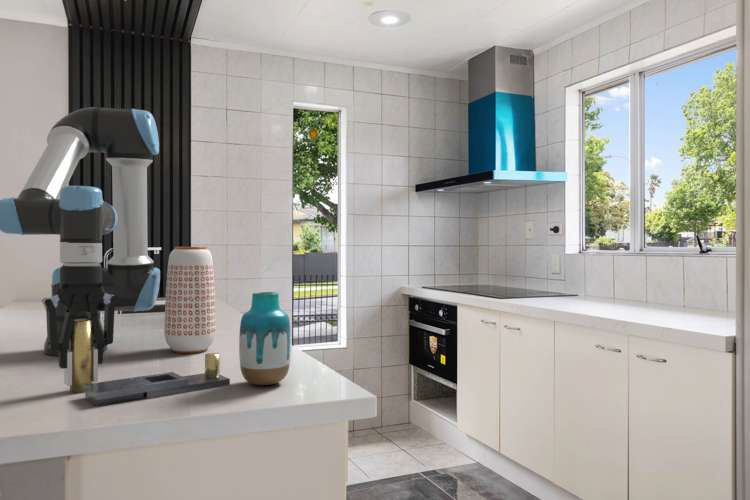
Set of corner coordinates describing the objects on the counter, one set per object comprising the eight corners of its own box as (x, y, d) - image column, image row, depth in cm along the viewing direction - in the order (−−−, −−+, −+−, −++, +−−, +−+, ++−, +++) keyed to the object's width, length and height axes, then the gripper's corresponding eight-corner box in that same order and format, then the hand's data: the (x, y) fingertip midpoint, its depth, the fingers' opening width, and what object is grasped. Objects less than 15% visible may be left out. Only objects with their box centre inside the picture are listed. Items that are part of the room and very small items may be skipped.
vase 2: (266, 393, 114) (267, 296, 114) (228, 385, 120) (228, 293, 120) (300, 382, 123) (301, 292, 123) (263, 375, 129) (264, 289, 129)
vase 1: (161, 356, 150) (161, 247, 149) (167, 346, 163) (167, 246, 162) (214, 354, 153) (215, 247, 152) (216, 345, 166) (217, 246, 165)
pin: (67, 390, 115) (67, 319, 115) (89, 386, 118) (89, 318, 118) (72, 394, 112) (72, 322, 112) (94, 390, 115) (94, 320, 115)
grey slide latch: (83, 397, 110) (83, 366, 110) (212, 377, 127) (212, 350, 127) (96, 407, 104) (96, 373, 104) (229, 384, 121) (229, 355, 121)
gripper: (36, 266, 106) (36, 393, 107) (132, 264, 117) (131, 379, 118) (28, 264, 112) (28, 385, 112) (120, 263, 123) (119, 373, 123)
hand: (81, 382), depth 115 cm, fingers closed on pin, 4 cm apart
